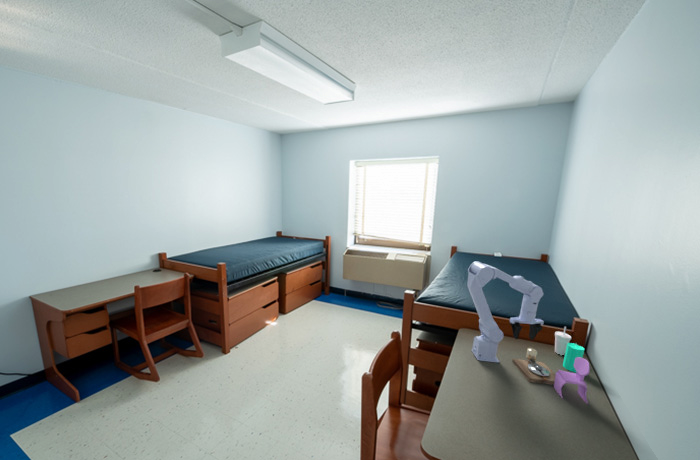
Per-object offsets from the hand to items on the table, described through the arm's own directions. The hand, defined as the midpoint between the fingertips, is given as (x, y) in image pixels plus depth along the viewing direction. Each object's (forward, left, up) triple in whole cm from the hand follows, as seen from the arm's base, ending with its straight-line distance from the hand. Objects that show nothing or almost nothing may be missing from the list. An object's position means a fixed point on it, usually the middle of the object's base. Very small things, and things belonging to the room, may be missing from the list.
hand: (523, 338), depth 122 cm
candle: (+21, -3, -10) cm, 23 cm away
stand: (+2, -10, -10) cm, 14 cm away
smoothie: (+24, +9, -10) cm, 27 cm away
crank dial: (+2, -8, -8) cm, 12 cm away
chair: (+7, -21, -10) cm, 25 cm away
